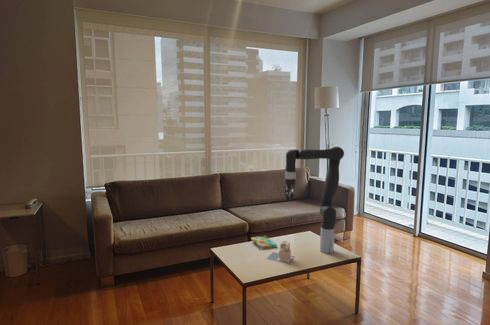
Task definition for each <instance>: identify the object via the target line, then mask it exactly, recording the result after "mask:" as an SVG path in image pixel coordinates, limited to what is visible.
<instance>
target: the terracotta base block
mask: <svg viewBox="0 0 490 325" xmlns="http://www.w3.org/2000/svg"><path fill="white" fill-rule="evenodd" d="M278 251H279V252H278V253H279V259H281V260H286V261H288V260H289V259H290V258H291V256H292V255H291V252H292V249H291V248H290V250H289V251H288V252H285V251H280V249H279V250H278Z"/></svg>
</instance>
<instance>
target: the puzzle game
mask: <svg viewBox="0 0 490 325" xmlns="http://www.w3.org/2000/svg"><path fill="white" fill-rule="evenodd" d="M250 239H251V241H253V244H255V246H257V247H258V249H260V250H265V249H267V250H268V249H272V248H277V246H278V244H277V243H276V242H274V241H273V240H272V239H270V238H269V237H268V236H266V235H262V236H261V235H260V236H253V237H251V238H250Z"/></svg>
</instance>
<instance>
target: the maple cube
mask: <svg viewBox="0 0 490 325" xmlns="http://www.w3.org/2000/svg"><path fill="white" fill-rule="evenodd" d="M279 243H280V247H279V250H280V251H285V252H288V251H289V250H290V249H291V242H290V241H286V240H282V241H281V242H279Z"/></svg>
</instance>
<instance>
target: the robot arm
mask: <svg viewBox="0 0 490 325" xmlns="http://www.w3.org/2000/svg"><path fill="white" fill-rule="evenodd" d="M344 156H345V151H344V150H343V148H342V147H340V146H333V147H331V148H328V149H327V148H326V149H313V148H310V149H288V150H287V151H286V153H285V163H286V164H285V173H284V184H285V185H286V186H285V191H284V195H285V201H286V202H290V200H293V199H294V193H295V191H296V190H295V187H296V186H295V185H296V180H297V179H296V176H297V173H296V172H297V171H296V170H297V169H296V160H322V159H325V160H326V159H328V167H327V170H326V171H327V172H326V175H325V182H324V189H323V196H322V200H321V205H320V209H319V212H320V215H321V216H322V217H323V218H322V219H323V220H322V222H321V223H320V242H319V251H320V252H322V253H325V254H333V253H334V251H335V225H336V222H337V221H336V219H337V211H336V209H335V208H334V207H333V200H334V197H335V195H336V193H337V191H338V189H339V188H338V187H339V185H340V184H339V183H340V164H341V163H340V162H341V160H342V159H343V157H344Z"/></svg>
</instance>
